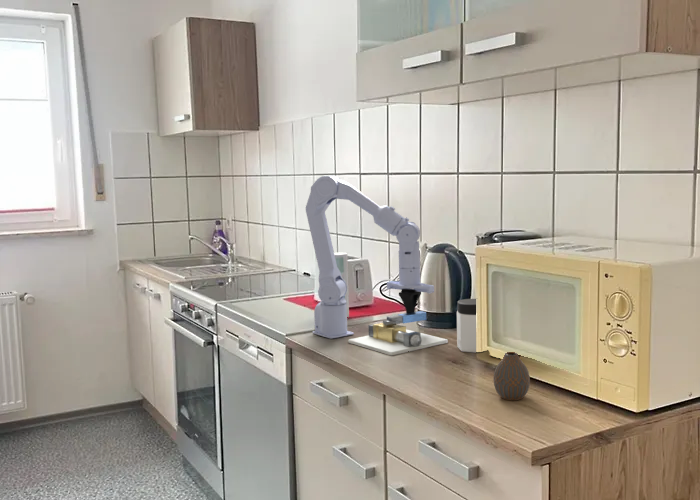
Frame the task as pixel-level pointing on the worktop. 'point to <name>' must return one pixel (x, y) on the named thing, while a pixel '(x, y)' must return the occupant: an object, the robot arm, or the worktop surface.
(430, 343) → the board
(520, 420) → the worktop surface
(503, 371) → the vase
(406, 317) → the lever
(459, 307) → the jar
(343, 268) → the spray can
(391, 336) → the valve
